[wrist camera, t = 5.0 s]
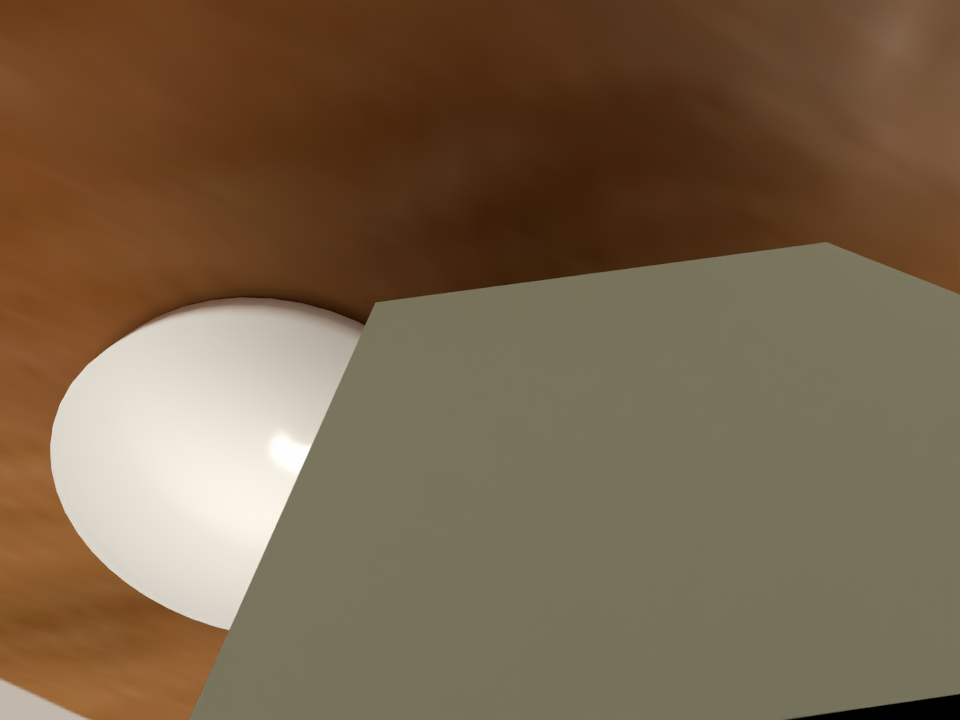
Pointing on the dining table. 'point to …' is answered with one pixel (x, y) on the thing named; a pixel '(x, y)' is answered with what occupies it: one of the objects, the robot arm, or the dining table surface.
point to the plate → (197, 443)
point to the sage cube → (625, 506)
